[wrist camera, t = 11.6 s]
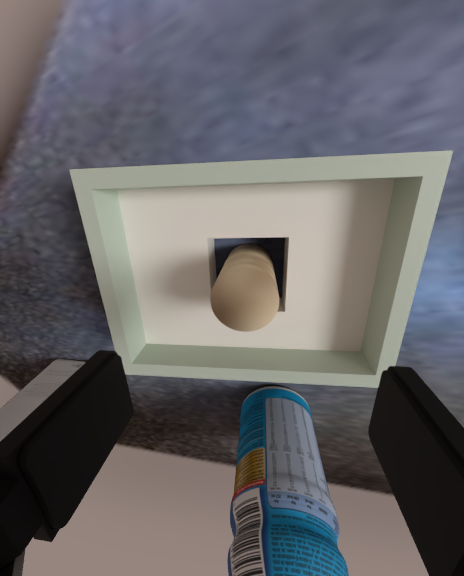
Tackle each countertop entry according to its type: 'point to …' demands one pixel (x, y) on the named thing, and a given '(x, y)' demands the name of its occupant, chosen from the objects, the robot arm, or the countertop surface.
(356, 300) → the tray
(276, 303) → the peg
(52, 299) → the countertop surface
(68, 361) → the skincare box
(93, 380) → the robot arm
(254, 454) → the beverage bottle
